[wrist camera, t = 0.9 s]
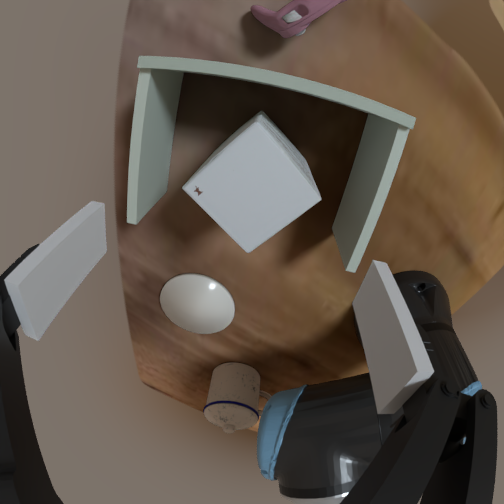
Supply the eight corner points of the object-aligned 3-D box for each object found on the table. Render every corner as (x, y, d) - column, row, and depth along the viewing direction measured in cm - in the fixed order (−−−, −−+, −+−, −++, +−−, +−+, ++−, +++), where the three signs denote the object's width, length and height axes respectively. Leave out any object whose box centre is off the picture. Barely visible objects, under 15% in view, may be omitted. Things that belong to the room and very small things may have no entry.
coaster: (251, 309, 42) (250, 311, 42) (201, 340, 47) (200, 343, 46) (192, 258, 39) (191, 261, 38) (147, 298, 43) (146, 301, 43)
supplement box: (256, 199, 34) (245, 257, 23) (212, 151, 32) (177, 187, 21) (308, 160, 31) (325, 201, 20) (263, 107, 29) (255, 118, 18)
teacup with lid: (208, 382, 53) (197, 435, 43) (216, 355, 49) (203, 413, 39) (268, 395, 54) (265, 447, 44) (284, 370, 49) (283, 428, 39)
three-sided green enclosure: (176, 62, 27) (139, 55, 18) (378, 108, 27) (416, 118, 19) (159, 190, 34) (124, 225, 26) (339, 230, 35) (356, 276, 27)
